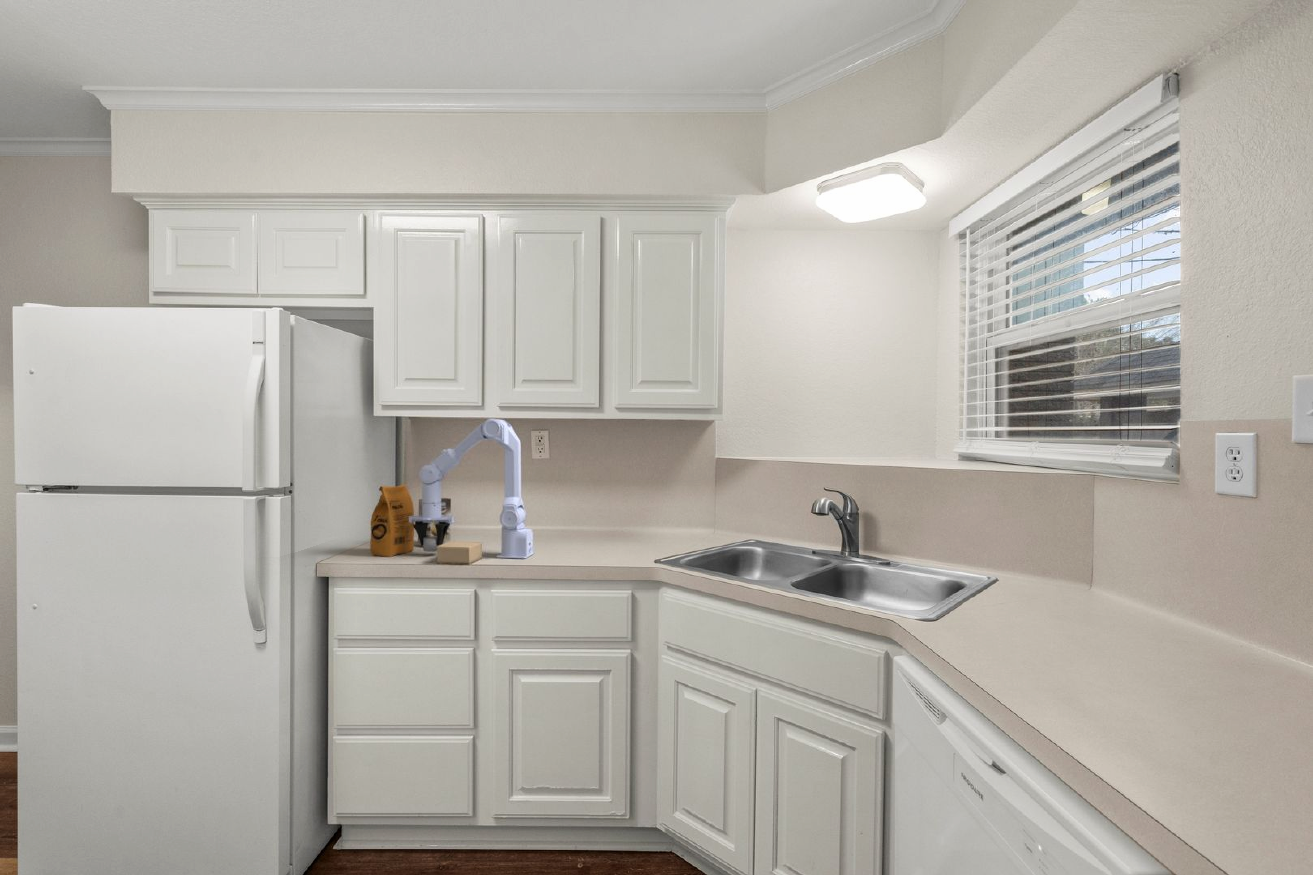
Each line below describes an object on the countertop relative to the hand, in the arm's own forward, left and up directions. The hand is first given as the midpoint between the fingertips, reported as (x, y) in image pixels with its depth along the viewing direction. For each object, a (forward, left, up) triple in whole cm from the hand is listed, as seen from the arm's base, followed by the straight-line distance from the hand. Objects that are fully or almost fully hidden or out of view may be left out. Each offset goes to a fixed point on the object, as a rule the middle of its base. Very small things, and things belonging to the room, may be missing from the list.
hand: (431, 545), depth 192 cm
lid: (-13, +7, +1) cm, 15 cm away
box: (-13, +7, -3) cm, 15 cm away
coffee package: (+14, -1, -3) cm, 15 cm away
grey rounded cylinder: (0, 0, -2) cm, 2 cm away
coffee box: (+8, -17, -3) cm, 19 cm away
